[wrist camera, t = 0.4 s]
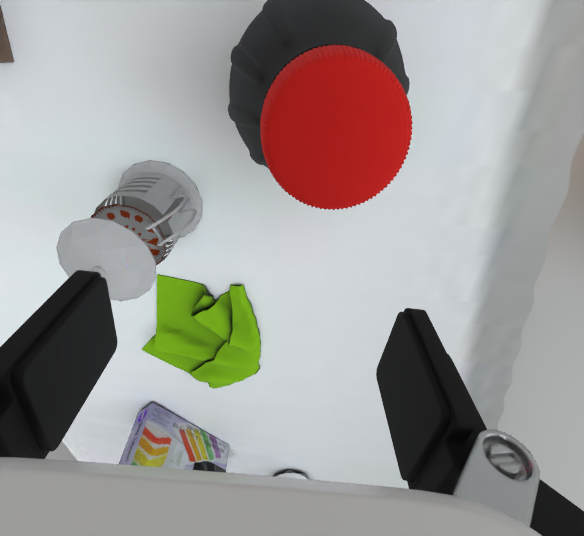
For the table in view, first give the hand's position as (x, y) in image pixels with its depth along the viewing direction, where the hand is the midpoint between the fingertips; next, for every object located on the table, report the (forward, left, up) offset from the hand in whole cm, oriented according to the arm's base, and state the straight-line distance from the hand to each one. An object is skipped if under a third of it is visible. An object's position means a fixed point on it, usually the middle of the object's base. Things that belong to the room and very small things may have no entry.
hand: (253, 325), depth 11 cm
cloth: (+29, -8, -30) cm, 43 cm away
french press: (+9, -13, -30) cm, 34 cm away
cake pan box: (+54, -11, -30) cm, 63 cm away
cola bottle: (-6, +1, -30) cm, 31 cm away
